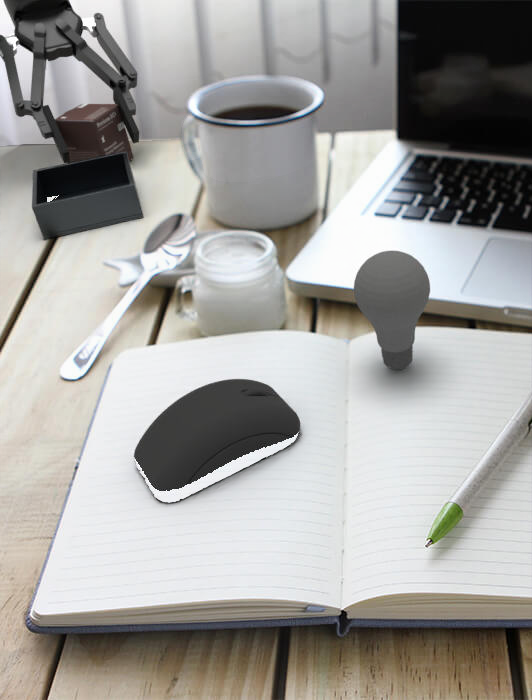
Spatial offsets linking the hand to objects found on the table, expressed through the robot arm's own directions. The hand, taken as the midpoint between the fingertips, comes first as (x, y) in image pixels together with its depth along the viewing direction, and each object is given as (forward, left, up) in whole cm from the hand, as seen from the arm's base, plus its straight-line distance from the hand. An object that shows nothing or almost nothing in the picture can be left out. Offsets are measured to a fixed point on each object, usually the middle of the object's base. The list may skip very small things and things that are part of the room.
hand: (101, 147), depth 97 cm
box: (-3, +1, -4) cm, 5 cm away
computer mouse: (+48, -30, -4) cm, 56 cm away
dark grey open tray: (+6, -8, -4) cm, 10 cm away
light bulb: (+54, -16, -4) cm, 56 cm away
